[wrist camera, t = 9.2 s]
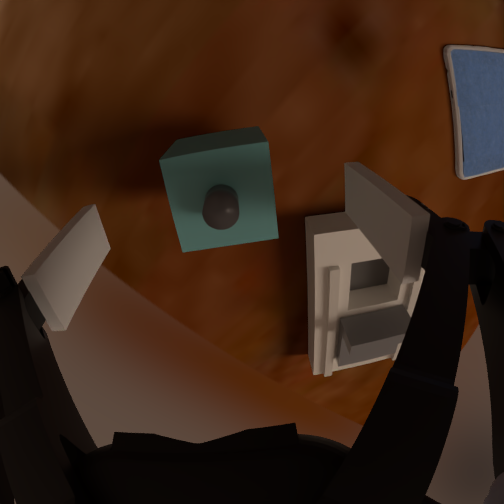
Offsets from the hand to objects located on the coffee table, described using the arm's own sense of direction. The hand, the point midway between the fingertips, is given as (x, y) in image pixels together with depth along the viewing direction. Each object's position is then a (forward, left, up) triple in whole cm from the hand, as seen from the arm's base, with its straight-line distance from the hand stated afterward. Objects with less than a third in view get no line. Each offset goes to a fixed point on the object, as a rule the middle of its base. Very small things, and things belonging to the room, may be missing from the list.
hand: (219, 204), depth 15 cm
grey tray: (+14, +11, -8) cm, 19 cm away
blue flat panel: (-5, +29, -8) cm, 31 cm away
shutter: (+17, +11, -4) cm, 21 cm away
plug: (0, 0, -8) cm, 8 cm away
